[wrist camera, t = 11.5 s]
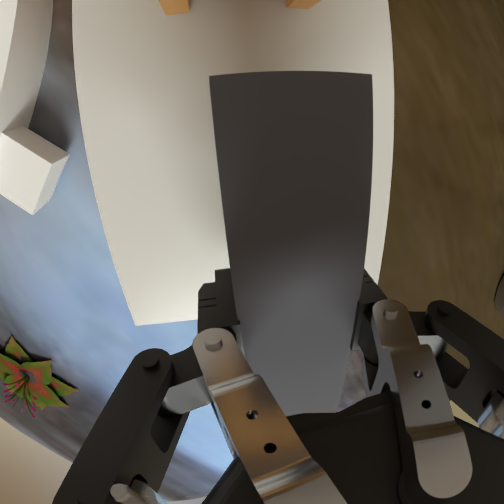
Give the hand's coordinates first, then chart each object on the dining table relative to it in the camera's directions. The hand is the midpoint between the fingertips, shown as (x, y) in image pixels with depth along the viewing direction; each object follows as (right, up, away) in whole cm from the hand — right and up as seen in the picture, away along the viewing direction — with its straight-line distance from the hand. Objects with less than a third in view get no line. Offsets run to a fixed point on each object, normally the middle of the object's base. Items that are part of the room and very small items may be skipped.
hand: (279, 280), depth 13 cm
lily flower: (-25, -12, +12) cm, 30 cm away
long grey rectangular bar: (0, +1, 0) cm, 1 cm away
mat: (-2, +7, +5) cm, 9 cm away
